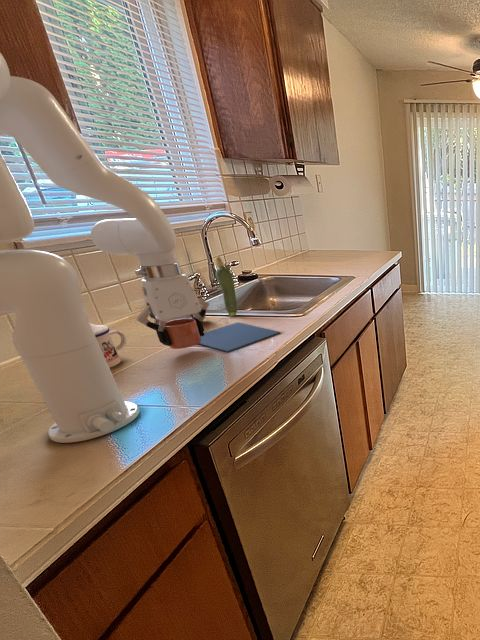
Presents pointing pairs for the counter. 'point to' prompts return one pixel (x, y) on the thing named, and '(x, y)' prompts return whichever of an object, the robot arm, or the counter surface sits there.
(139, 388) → the counter surface
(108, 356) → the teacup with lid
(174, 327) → the terracotta flower pot
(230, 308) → the vegetable
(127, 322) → the counter surface
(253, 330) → the mat
